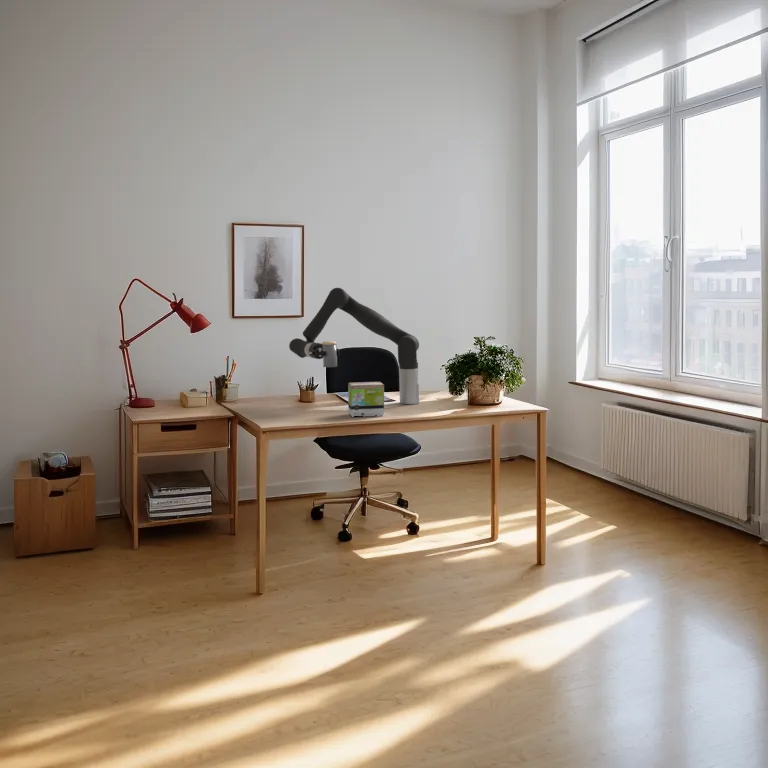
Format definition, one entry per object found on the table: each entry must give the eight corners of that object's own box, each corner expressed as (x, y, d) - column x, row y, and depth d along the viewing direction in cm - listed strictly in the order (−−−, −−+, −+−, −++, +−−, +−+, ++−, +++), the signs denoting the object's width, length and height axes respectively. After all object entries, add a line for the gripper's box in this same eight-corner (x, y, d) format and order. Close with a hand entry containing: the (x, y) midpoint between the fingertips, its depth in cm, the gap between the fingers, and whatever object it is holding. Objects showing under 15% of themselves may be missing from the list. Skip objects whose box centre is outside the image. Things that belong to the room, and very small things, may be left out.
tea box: (351, 418, 359) (351, 385, 357) (348, 414, 369) (347, 382, 367) (384, 416, 362) (384, 383, 360) (380, 412, 372) (379, 380, 370)
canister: (337, 365, 377) (336, 341, 375) (337, 367, 370) (336, 342, 369) (323, 365, 377) (322, 341, 375) (322, 367, 370) (322, 342, 368)
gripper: (301, 343, 380) (318, 346, 366) (328, 341, 388) (345, 344, 374) (302, 359, 381) (318, 362, 367) (328, 357, 389) (346, 360, 375)
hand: (332, 353), depth 371 cm, fingers closed on canister, 6 cm apart
